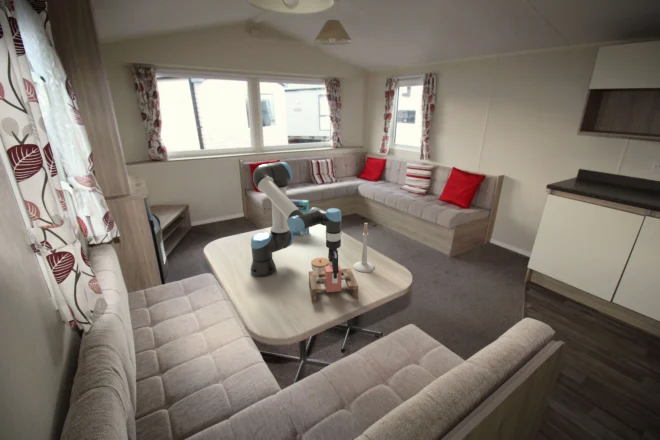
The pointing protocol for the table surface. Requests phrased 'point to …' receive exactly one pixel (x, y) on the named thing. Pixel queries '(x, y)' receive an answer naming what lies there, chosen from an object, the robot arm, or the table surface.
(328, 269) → the salmon red channel block
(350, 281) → the wooden frame with rod
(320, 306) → the table surface
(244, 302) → the table surface
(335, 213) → the robot arm
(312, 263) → the lidded jar
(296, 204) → the game box
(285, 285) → the table surface
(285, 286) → the table surface
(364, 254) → the candlestick
